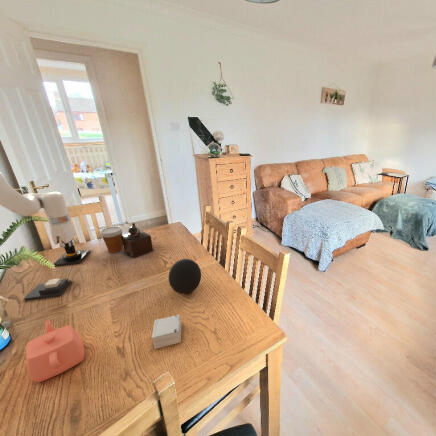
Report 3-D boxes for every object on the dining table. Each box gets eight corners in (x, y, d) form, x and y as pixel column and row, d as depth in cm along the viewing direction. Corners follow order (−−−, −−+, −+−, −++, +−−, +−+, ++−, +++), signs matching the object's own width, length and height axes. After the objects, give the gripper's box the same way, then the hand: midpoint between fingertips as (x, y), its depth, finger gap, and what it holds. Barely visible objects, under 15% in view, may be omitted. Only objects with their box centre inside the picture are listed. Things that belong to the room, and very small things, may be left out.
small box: (157, 330, 82) (154, 319, 80) (182, 325, 85) (180, 313, 83) (153, 349, 75) (151, 337, 73) (181, 343, 78) (179, 331, 76)
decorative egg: (186, 279, 109) (182, 250, 103) (208, 286, 105) (205, 257, 99) (164, 295, 98) (158, 264, 92) (188, 304, 94) (183, 272, 88)
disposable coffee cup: (101, 255, 123) (95, 234, 118) (110, 246, 131) (104, 226, 127) (122, 253, 125) (117, 233, 121) (129, 245, 134) (125, 225, 129)
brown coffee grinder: (122, 252, 126) (114, 221, 120) (144, 244, 135) (138, 215, 128) (137, 262, 119) (129, 229, 112) (159, 253, 127) (153, 222, 120)
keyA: (45, 288, 94) (44, 285, 94) (50, 283, 98) (49, 279, 97) (56, 287, 96) (55, 283, 95) (61, 281, 99) (60, 278, 98)
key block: (53, 266, 112) (51, 261, 111) (67, 253, 123) (65, 249, 122) (79, 263, 115) (77, 259, 114) (90, 251, 126) (88, 247, 125)
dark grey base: (24, 301, 91) (21, 294, 90) (39, 286, 99) (37, 280, 98) (60, 296, 95) (57, 290, 93) (71, 282, 103) (69, 276, 101)
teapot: (33, 399, 61) (17, 371, 57) (31, 353, 72) (18, 327, 68) (90, 369, 69) (79, 342, 65) (80, 331, 80) (71, 307, 76)
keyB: (64, 258, 116) (63, 255, 115) (69, 254, 119) (68, 251, 119) (74, 257, 117) (73, 254, 116) (78, 253, 121) (77, 250, 120)
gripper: (58, 213, 116) (69, 246, 123) (39, 225, 103) (53, 262, 110) (77, 212, 118) (87, 245, 125) (60, 224, 105) (73, 260, 112)
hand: (71, 252), depth 118 cm, fingers closed
